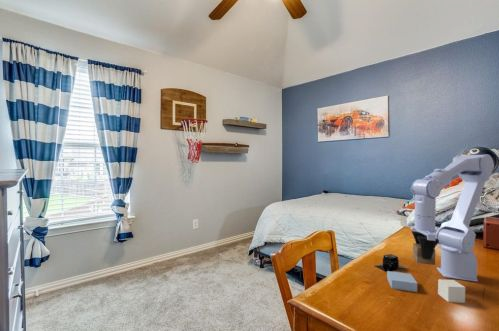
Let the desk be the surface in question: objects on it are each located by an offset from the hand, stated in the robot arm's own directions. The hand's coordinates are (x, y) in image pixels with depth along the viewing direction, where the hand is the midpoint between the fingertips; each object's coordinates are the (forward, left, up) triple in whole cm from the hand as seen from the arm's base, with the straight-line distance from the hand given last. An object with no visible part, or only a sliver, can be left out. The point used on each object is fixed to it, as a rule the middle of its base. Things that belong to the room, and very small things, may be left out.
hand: (424, 255), depth 86 cm
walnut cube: (0, 0, -2) cm, 2 cm away
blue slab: (+8, +6, -9) cm, 13 cm away
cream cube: (-4, +10, -9) cm, 14 cm away
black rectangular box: (+8, -9, -9) cm, 15 cm away
